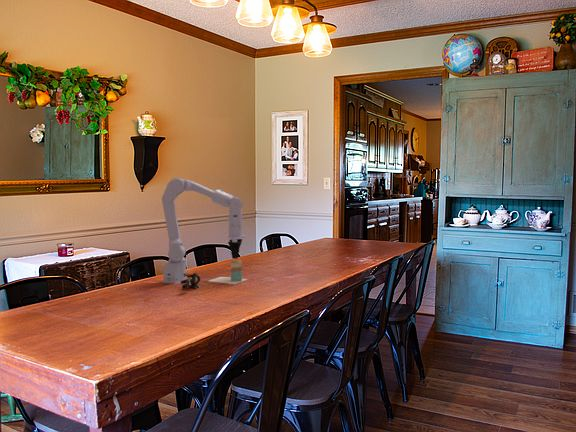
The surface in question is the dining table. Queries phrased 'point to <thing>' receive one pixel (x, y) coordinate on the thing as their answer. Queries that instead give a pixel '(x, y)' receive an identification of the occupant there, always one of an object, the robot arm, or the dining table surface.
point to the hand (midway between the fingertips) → (235, 257)
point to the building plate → (225, 280)
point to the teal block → (236, 276)
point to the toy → (191, 281)
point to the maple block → (236, 266)
